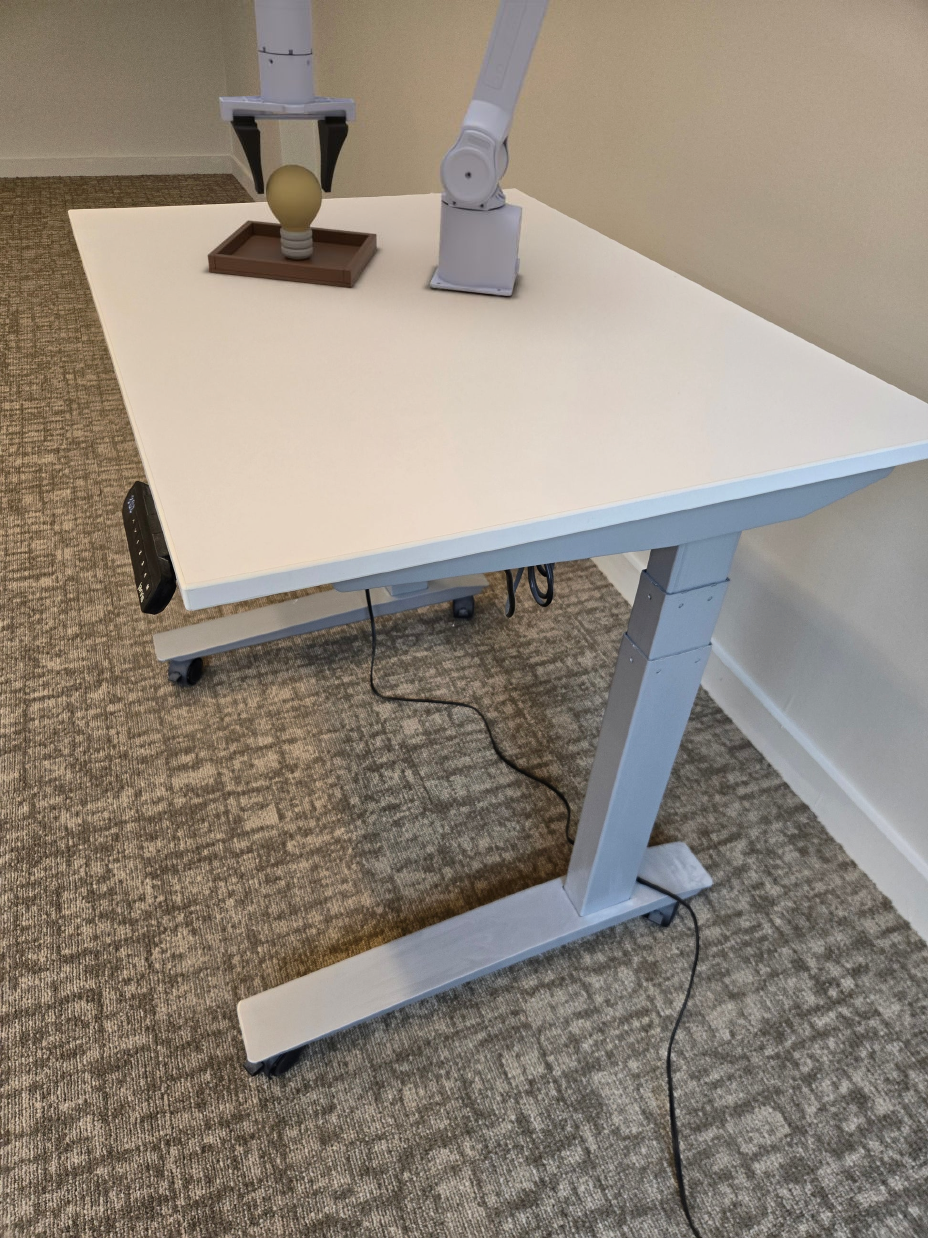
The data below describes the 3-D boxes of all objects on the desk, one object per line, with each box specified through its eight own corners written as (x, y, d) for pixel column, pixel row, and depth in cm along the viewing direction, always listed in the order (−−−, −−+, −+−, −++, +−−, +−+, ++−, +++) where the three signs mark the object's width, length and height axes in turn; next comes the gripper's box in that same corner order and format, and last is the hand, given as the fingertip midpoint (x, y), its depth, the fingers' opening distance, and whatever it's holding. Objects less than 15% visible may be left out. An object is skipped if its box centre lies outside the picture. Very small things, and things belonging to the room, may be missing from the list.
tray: (376, 249, 110) (376, 233, 109) (350, 287, 99) (350, 270, 98) (249, 235, 111) (247, 219, 110) (209, 271, 100) (207, 254, 99)
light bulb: (280, 245, 107) (274, 156, 101) (330, 251, 107) (327, 162, 101) (262, 261, 103) (255, 168, 96) (315, 267, 102) (311, 174, 96)
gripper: (220, 55, 86) (234, 201, 95) (362, 58, 91) (363, 198, 99) (211, 44, 91) (225, 185, 100) (345, 48, 96) (348, 182, 104)
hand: (293, 190), depth 100 cm, fingers open, 7 cm apart
